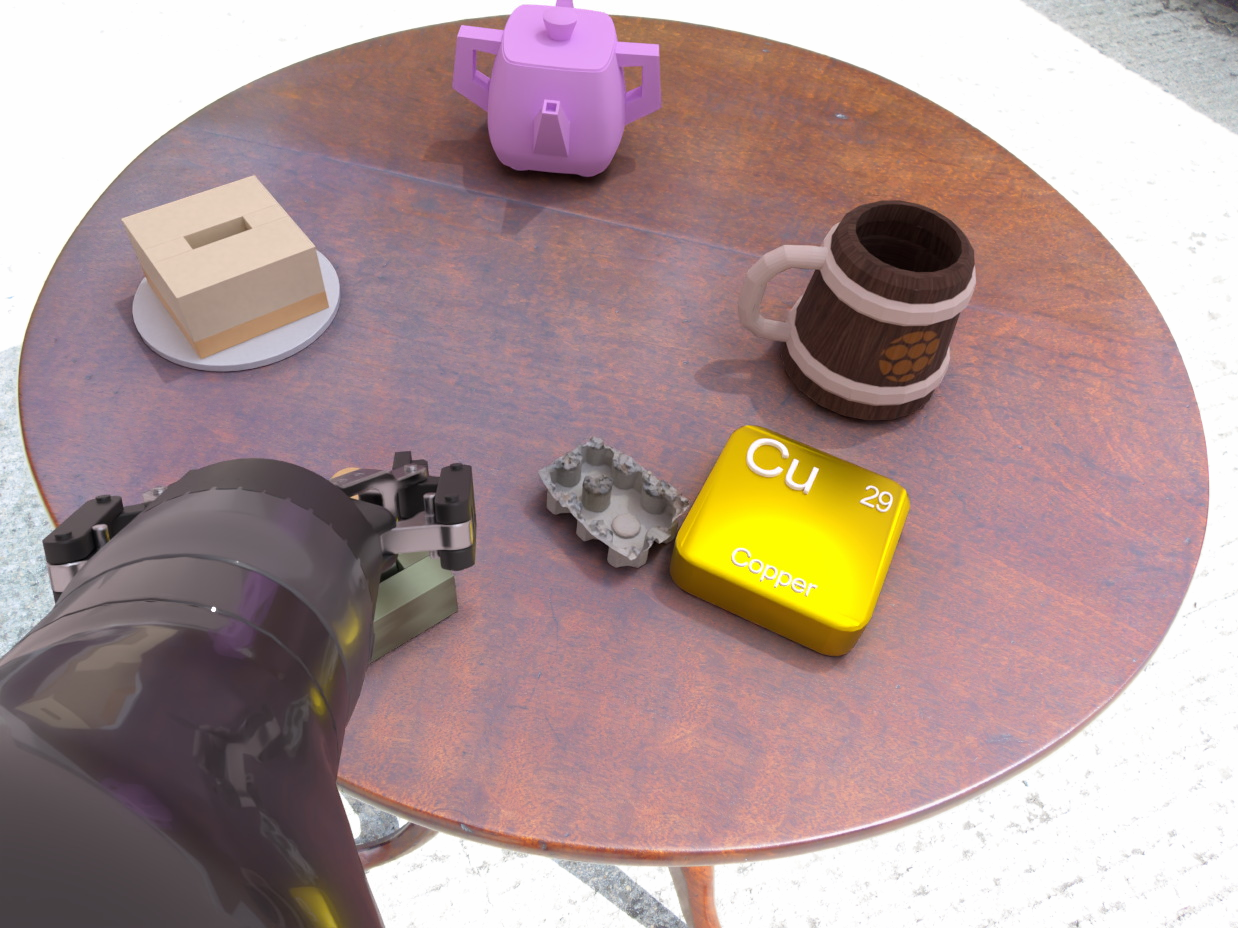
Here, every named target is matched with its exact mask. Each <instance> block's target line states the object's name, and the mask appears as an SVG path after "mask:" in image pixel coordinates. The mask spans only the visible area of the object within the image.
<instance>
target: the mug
mask: <svg viewBox="0 0 1238 928" xmlns="http://www.w3.org/2000/svg"><path fill="white" fill-rule="evenodd" d="M975 262H976V260H975V250H974V247H973V246H972V244H971V242H970V240H969V238H968V236H967V234H965V233H964V232H963V230H962V229H961V228H960V227H958V225H956V223H955V222H953V220H952V219H950V218H949V217H947V216H946V215H944V214H942V213H940V212H939V211H937V210H935V209H933V208H931V207H928V206H925V205H922V204H920V203H916V202H911V201H906V200H905V201H904V200H899V199H897V200H895V199H894V200H893V199H887V200H883V199H881V200H878V201H873V202H870V203H869V202H868V203H864V204H859V205H858V206H856V207H854V208H853V209H851V210H850V211H848V212H846V213H845V214H844V215H843V217H842V219H841V220H840V221H839V222H837V223H836V224H833V226H832V227H831V229H830V230H829V231H828V232H827V234H826V236H825V237H824V239H823V240H822V242H821V243H820V245H819V246H818V245H805V244H803V245H801V244H783V245H781V246H779V247H777V248H774V249H773V250H770V251H769V252H765V253H764V254H763V255H762V256H761V257H760V258H759V259H758V260H757V261H756V262H754V264H753V265H752V266H751V267H750V268H749V269H748V270H747V271H746V273H745V277H744V280H743V283H742V286H741V289H740V293H739V296H738V298H737V299H738V300H737V313H738V321H739V324H740V325H741V326H742V327H744V328H745V329H746V330H748V331H749V332H750V333H751V334H753V335H754V336H755V337H756V338H759V339H762V340H763V339H764V340H767V341H773V342H781V348H780V357H781V360H782V363H783V366H784V369H785V373H786V374H787V375H788V377H789V378H790V379H791V381H792V382H793V383H794V384H795V386H796V387H797V389H798V390H799V391H801V392H802V393H804V395H806V396H807V397H808V398H809V399H811V400H812V401H813V402H815V403H816V404H817V405H819V406H820V407H823V408H825V409H827V410H830V411H831V412H834V413H835V414H839V415H840V416H843V417H848V418H849V417H850V418H853V419H859V420H863V421H888V420H895V419H896V420H897V419H899V418H902V417H905V416H908V415H911V414H915V413H916V412H917V411H918V410H920V409H921V408H922V407H923V406H925V405H926V404H927V403H928V402H929V401H930V400H931V398H932V396H933V394H934V392H935V390H936V388H938V387H939V386H940V385H941V384H942V382H943V380H944V377H945V375H946V373H947V371H948V370H949V366H950V361H951V350H950V349H951V348H950V347H951V346H950V345H951V341H952V338H953V335H954V333H955V331H956V327H957V325H958V321H959V318H960V315H961V312H962V311H964V310H965V309H966V308H967V307H968V305H969V303H970V301H971V299H972V297H973V295H974V292H975V288H976V284H977V274H976V266H975V265H976V263H975ZM790 269H799V270H810V271H811V270H813V273H812V276H811V278H810V280H809V282H808V283H807V286H806V289H805V291H804V292H803V294H801V295H800V296H799V297H798V299H797V300H796V302H795V303H794V304H793V306H792V308H791V309H790V311H789V312H788V314H787V316H786V317H785V321H781V320H779V321H778V320H773V319H769V318H765V317H764V316H763V315H762V314H761V313H760V312H761V309H760V308H761V304H762V300H763V298H764V295H765V292H766V289H767V286H768V283H770V281H772V280H773V279H774V278H775V277H776V276H777V275H778V274H780V273H783V272H785V271H787V270H790Z"/></svg>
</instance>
